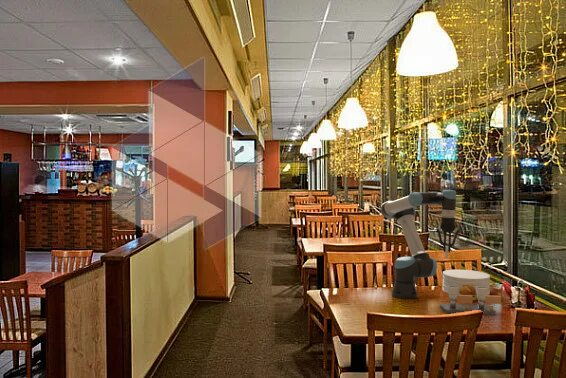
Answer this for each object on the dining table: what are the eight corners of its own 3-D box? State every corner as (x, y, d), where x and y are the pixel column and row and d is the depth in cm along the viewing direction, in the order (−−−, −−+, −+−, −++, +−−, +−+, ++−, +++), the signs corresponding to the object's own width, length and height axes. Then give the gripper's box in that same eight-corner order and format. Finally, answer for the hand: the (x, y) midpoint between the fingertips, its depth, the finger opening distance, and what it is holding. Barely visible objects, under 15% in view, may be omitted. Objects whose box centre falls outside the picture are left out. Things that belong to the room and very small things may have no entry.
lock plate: (445, 313, 246) (445, 302, 246) (439, 306, 258) (439, 296, 258) (495, 314, 244) (495, 303, 244) (487, 308, 256) (487, 297, 256)
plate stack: (486, 299, 274) (486, 280, 274) (438, 293, 289) (438, 275, 289) (492, 290, 298) (492, 272, 298) (447, 284, 313) (447, 267, 313)
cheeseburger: (481, 299, 275) (480, 283, 273) (473, 306, 267) (472, 291, 265) (464, 295, 282) (463, 280, 280) (456, 303, 275) (455, 287, 273)
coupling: (449, 303, 250) (449, 287, 250) (447, 300, 254) (448, 285, 254) (473, 304, 248) (473, 288, 248) (471, 302, 252) (471, 286, 252)
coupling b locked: (478, 303, 248) (478, 287, 248) (475, 301, 253) (475, 286, 253) (501, 304, 247) (502, 288, 247) (498, 302, 252) (498, 286, 251)
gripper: (436, 216, 263) (434, 257, 264) (460, 218, 258) (458, 259, 260) (436, 215, 270) (434, 255, 271) (460, 216, 265) (458, 257, 267)
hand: (446, 257), depth 266 cm, fingers closed
